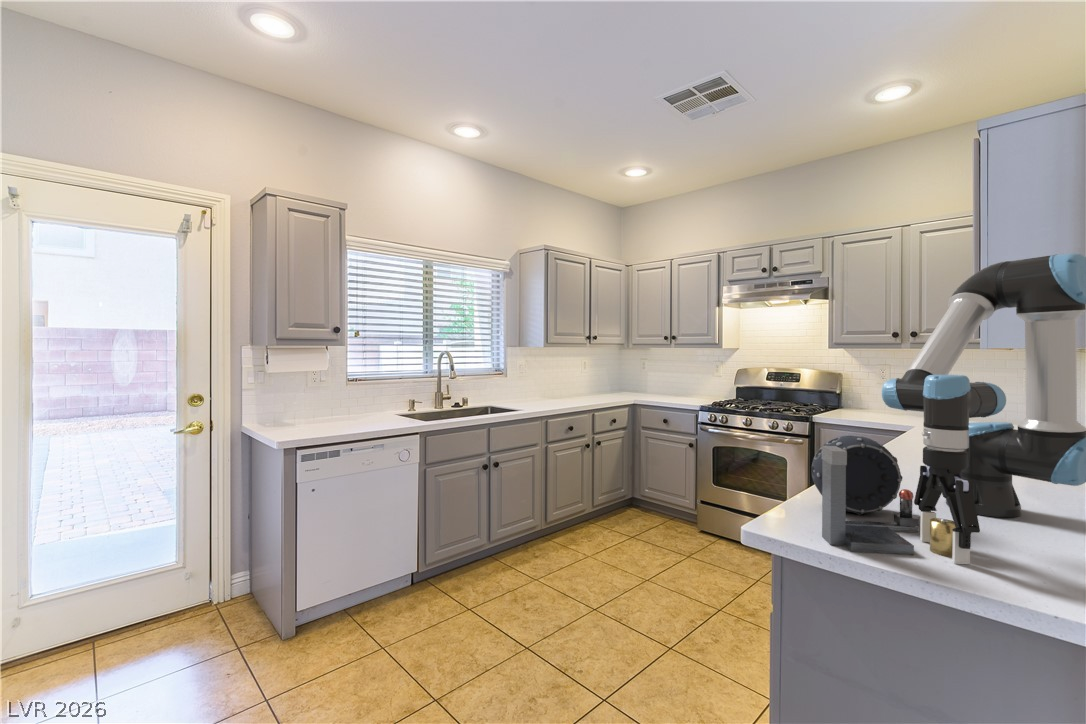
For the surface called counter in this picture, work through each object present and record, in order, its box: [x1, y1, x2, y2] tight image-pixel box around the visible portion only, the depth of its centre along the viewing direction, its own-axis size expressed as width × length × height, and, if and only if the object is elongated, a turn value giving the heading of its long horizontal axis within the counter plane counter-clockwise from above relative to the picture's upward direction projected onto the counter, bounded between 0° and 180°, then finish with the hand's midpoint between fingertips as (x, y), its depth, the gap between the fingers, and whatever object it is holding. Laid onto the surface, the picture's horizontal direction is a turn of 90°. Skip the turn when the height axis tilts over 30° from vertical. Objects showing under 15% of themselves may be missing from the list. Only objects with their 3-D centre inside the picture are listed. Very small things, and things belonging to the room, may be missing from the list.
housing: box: [929, 517, 956, 558], centre depth 106 cm, size 5×5×7 cm
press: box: [821, 445, 919, 556], centre depth 113 cm, size 23×17×21 cm
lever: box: [892, 488, 920, 527], centre depth 119 cm, size 4×3×8 cm
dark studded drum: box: [811, 435, 903, 516], centre depth 133 cm, size 11×20×20 cm, turn 78°
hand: (943, 551), depth 106 cm, fingers open, 11 cm apart
